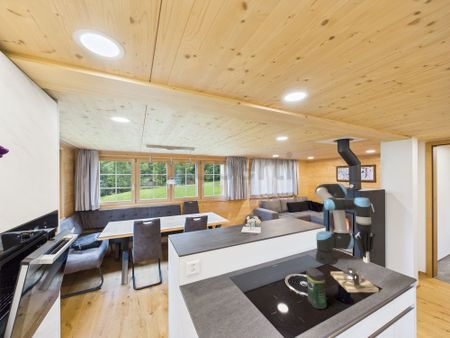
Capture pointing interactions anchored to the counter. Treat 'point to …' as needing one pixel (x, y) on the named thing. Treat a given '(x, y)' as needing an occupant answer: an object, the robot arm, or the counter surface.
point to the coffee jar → (316, 288)
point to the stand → (349, 287)
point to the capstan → (352, 277)
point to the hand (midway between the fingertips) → (366, 262)
